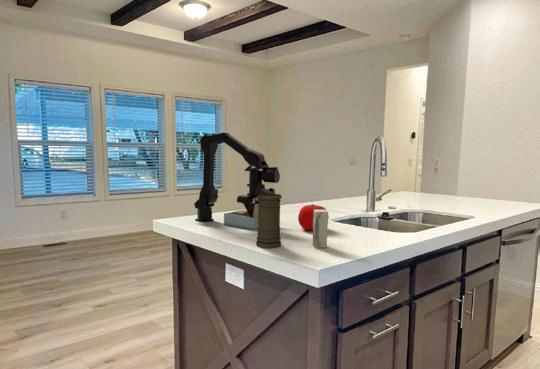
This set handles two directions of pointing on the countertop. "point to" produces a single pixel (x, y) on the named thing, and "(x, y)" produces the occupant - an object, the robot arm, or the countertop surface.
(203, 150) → the robot arm
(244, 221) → the box
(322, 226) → the box
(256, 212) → the cylinder
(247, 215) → the cube
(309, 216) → the tomato
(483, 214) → the countertop surface
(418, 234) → the countertop surface
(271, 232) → the container
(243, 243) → the countertop surface
